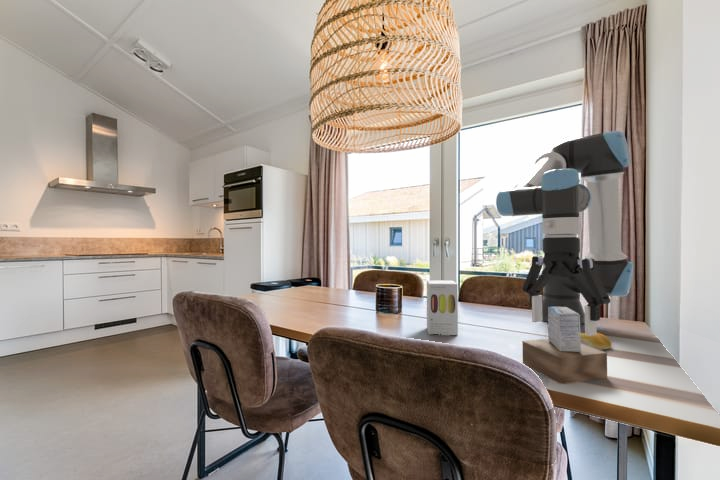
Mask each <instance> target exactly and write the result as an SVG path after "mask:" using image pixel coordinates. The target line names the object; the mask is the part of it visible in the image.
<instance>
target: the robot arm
mask: <svg viewBox="0 0 720 480" xmlns="http://www.w3.org/2000/svg"><path fill="white" fill-rule="evenodd" d="M630 166H631V155H630V150H629V145H628V142H627V138H626V136H625V134H624V133H623V132H622V131H619V130H614V131H606V132H605V131H604V132H601V133H595V134H592V135H587V136H581V137H576V138H570V139H567V140H564V141H561V142H559V143H557V144H555V145H553V146H551V147H550V148H548V149H546V150H544V152H542V153H541V155H539V156H538V157H537V158H536V160H535V163H534V166H532V168H531V169H530V170H529V172H527V174H526V175H525V176H523V178H521V180H520V181H519V182H518V183H517V184H516V185H515V187H514V188H512V189H510V188H509V189H504V190H501V191H499V192H498V194H497V195H496V198H495V199H496V200H495V203H496V204H495V206H496V209H497V212H498V213H499V215H500V216H503V217H509V216H510V217H519V216H537V215H542V216H541V218H542V219H541V221H542V222H541V223H542V235H543V236H544V237H543V239H542V252H543V254H544V255H543V256H542V255H536V256H532V258H531V266H530V269H529V270H528V273H527V275H526V278H525V281H524V283H523V286H522V288H521V289H522V292H524V293H525V292H526V293H527V294H528V295H529V307H530V308H531V322H532V323H539V322H547V323H548V307H567V308H569V309H571V310H573V311H575V312H576V313H578V314H579V315H580V325H584V333H585V335H586V336H592V335H597V333H598V332H597V329H598V328H597V322H598V321H600V319H601V306H602V305H606V304H610V303H611V298H610V297H626V296H629V293H630V290H631V288H632V282H633V278H634V277H633V276H634V265H635V264H634V263H633V262H632V261H629V260H628V255H626V254H625V253H624V252H623V251H622V238H621V237H622V236H621V232H622V231H621V211H620V210H621V207H620V183H619V182H620V181H619V179H620V178H621V177H622V176H623V175H624V174H625V168H629V167H630ZM579 173H580V174H579ZM579 175H580V176H579ZM580 178H581V179H582V180H583V181H585V183H586V185H584V184H582V183H581V180H580ZM586 210H587V217H588V237H589V239H588V240H589V252H588V253H587V254H586V255H584V259H580V252H581V238H579V237H578V235H580V234H581V229H580V228H581V227H580V226H581V225H580V224H581V223H580V220H581V219H580V213H581V212H583V211H586ZM540 273H541V274H540ZM539 275H540V276H539ZM541 292H543V294H542V293H541ZM541 294H542V295H541ZM580 296H582V297H583V298H584V300H585V302H586V303H587V304H584V308H583V305H582V302H581V297H580Z"/></svg>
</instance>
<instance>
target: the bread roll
mask: <svg viewBox="0 0 720 480" xmlns="http://www.w3.org/2000/svg"><path fill="white" fill-rule="evenodd" d="M580 339H581V344H584V345H587V346H590V347H592V348H595V349H598V350H601V351H604V350H607V349H610V348H611V347H612V342H611V340H610V338H608V337H607V336H606V335H605V334H602V333H600V332H597V335H592V336H586V335H585V332H584V333H581V332H580Z"/></svg>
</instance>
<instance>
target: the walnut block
mask: <svg viewBox="0 0 720 480" xmlns="http://www.w3.org/2000/svg"><path fill="white" fill-rule="evenodd" d="M521 345H522V364H523V363H524V364H525V366H526V365H527V367H528V366H529V367H528V368H529V369H532V370H533V371H535V372H538V373H540V374H541V375H543V376H545V377H547V378H549V379H551V380H552V381H555V382H556V383H558V384H560V385H565V384H572V383H573V384H574V383H580V382H587V381H594V380H602V379H608V353H607V352H606V351H604V350H598V349H595V348H592V347H590V346H587V345H584V344H581V352H563V351H560V350H558V349H557V348H556V347H555V346H554V345H553V344H552V343H551V342H550V341H549V338H541V339H533V340H531V339H530V340H522V344H521ZM524 364H523V365H524Z"/></svg>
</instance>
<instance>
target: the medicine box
mask: <svg viewBox="0 0 720 480" xmlns="http://www.w3.org/2000/svg"><path fill="white" fill-rule="evenodd" d="M547 326H548V327H547V328H548V329H547V332H548V335H547V336H548V338H547V339H549V341H550V342H551V343H552V344H553V345H554V346H555V347H556V348H557V349H558V350H560V351H563V352H581V339H580V334H581V324H580V315H579V314H578V313H576V312H575V311H573V310H571V309H569V308H567V307H548V322H547Z"/></svg>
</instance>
